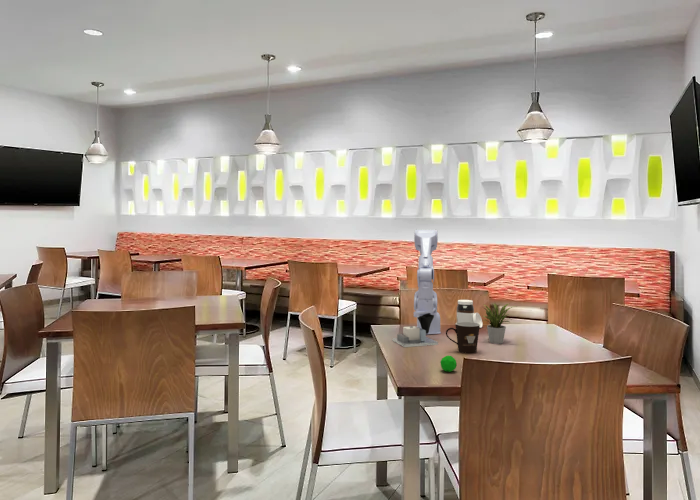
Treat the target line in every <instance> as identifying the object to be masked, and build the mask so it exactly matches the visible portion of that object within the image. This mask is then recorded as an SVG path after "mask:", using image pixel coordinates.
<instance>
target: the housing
mask: <svg viewBox="0 0 700 500" xmlns="http://www.w3.org/2000/svg"><path fill="white" fill-rule="evenodd" d="M402 333H403V335H405V336H407V337H409V340H416V339H420V328H418V327H417V325H416V326H415V325H414V326H403V328H402Z"/></svg>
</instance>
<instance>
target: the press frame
mask: <svg viewBox="0 0 700 500" xmlns="http://www.w3.org/2000/svg"><path fill="white" fill-rule="evenodd" d="M392 342H394V343H395V344H398V345H399V346H401V347H403V348H413V347H414V348H415V347H426V346H427V345H428V346H437V345H439V341H437V340H434V339H432V338H430V337H429V336H426V341H421V339H416V340H409V337H407V336H405V335H403V334H402V333H397V334H396V337H392Z"/></svg>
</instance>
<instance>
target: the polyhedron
mask: <svg viewBox="0 0 700 500" xmlns="http://www.w3.org/2000/svg"><path fill="white" fill-rule="evenodd" d="M439 363H440V367H441V369H442V370H443V371H445V372H447V373H450V372H454V370H456V369H457V360H456V358H455V357H453V356H452V355H445V356H444V357H442V358H441V360H440V362H439Z"/></svg>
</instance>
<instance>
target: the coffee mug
mask: <svg viewBox="0 0 700 500" xmlns="http://www.w3.org/2000/svg"><path fill="white" fill-rule="evenodd" d="M480 329H481V328H480V324H478V323H473V322H458V323H457V322H455V328H454V327H449V328H447V329H446V330H445V336H446V338H447V339H449V341H451V342H453V343H454V344H456V346H457V350H458V351H457V352H459V353H461V354H465V355H467V354H470V355H471V354H472V355H473V354H476V353H477V351H478V350H477V349H478V342H479V341H478V340H479V334H480ZM451 330H453V331H454V332H455V334H456V340H457V341H455V340H453V339H452V338H450V336H449V335H448V331H451Z"/></svg>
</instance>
